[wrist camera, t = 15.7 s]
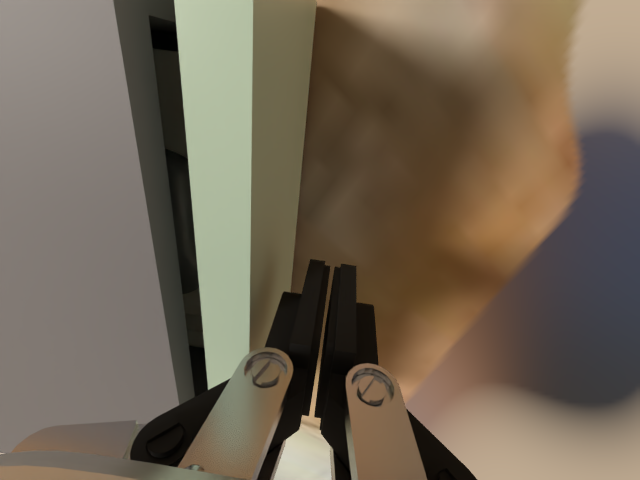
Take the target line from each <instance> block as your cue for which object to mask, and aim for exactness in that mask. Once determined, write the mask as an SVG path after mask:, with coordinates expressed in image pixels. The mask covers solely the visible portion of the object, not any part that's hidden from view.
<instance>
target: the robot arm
mask: <svg viewBox="0 0 640 480" xmlns="http://www.w3.org/2000/svg"><path fill="white" fill-rule="evenodd" d="M329 272H330V266H326V265H325V261H319V260H313V259H310V263H309V267H308V271H307V275H306V279H305V283H304V287H303V291H302V294H298V293H291V292H285V291H284V292H283V294H282V296H281V299H280V302H279V305H278V308H277V311H276V314H275V317H274V320H273V323H272V326H271V329H270V332H269V335H268V338H267V341H266V344H265V347H264V348H259V349H256V350H253V351H251V352H250V353H249V354H247V355H246V356H245V357H244V358H243V359H242V361H241V362H240V364H239V365H238V367H237V369H236V370H235V372H234V374H233V375H232V377H231V378H230V379H228V380H226V381H224V382H222V383H220V384H219V385H217V386H215V387H213V388H211V389H209V390H207V391H205V392H203V393H201V394H199V395H198V396H196V397H194V398H192V399H190V400H188V401H186V402H184V403H182V404H180V405H178V406H177V407H175V408H173V409H171V410H169V411H167V412H165V413H163V414H161V415H159V416H158V417H156V418H155V419H153V420H152V421H150V422H149V423H147V424H138V422H137V420H131V421H116V422H102V423H87V424H73V425H58V426H52V427H48V428H43V429H41V430H39V431H37V432H35V433H33V434H31V435H29V436H28V437H27V438H26V439H24V440H23V441H22V442H20V443H19V444H18V445H17V446H16V447H15V448H14V449H13V450H12V452H11V453H7V454H1V455H0V480H273V479H274V476H275V473H276V470H277V467H278V464H279V461H280V458H281V455H282V452H283V450H284V447H285V442H286V439H287V438H288V437H290V436H291V435H292V434H294V433H295V432H297V431H298V430H299V427H300V424H301V417H302V415H305V416H309V411H310V405H311V398H312V392H313V386H314V379H315V373H316V366H317V360H318V353H319V347H320V339H321V332H322V324H323V317H324V309H325V302H326V294H327V287H328V279H329ZM314 417H317V418H321V423H320V430H321V434H322V435H323V437H324V438H325V439H326V441H327V442H328V443H329V445H330V461H331V476H332V480H477V479H476V478H475V476H474V475H473V474H472V473H471V472H470V471H469V469H468V468H467V467H466V466H465V465H464V464H462V463H461V462H460V461H459V460H458V459H457V458H456V457H455V456H454V455H453V454H452V453H451V452H450V451H449V450H448V449H447V448H446V447H445V446H444V445H443V444H442V443H441V442H440V441H439V440H438V439H437V438H436V437H435V436H434V435H433V434H432V433H431V432H430V431H429V430H428V429H426V428H425V426H423V425H422V424H421V423H420V422H419V421H418V420H417V419H416V418H415V417H414V416H413V415H412V414H411V413H410V412H409V411H408V410H407V409H406V407H405V403H404V400H403V397H402V393H401V390H400V387H399V385H398V383H397V380H396V379H395V378H394V377H393V375H392V374H391V373H390V372H388V371H387V370H386V369H384V368H383V367H380V366H378V354H377V341H376V328H375V315H374V306H373V305H369V304H363V303H356V266H353V265H346V264H341V267H340V268H339V267H335V269H334V275H333V282H332V288H331V294H330V300H329V307H328V313H327V319H326V325H325V333H324V341H323V349H322V358H321V366H320V374H319V382H318V391H317V399H316V407H315V416H314Z"/></svg>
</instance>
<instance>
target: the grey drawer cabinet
mask: <svg viewBox="0 0 640 480" xmlns="http://www.w3.org/2000/svg"><path fill="white" fill-rule="evenodd" d="M153 48H154V49H161V50H169V51H176V52H179V50H178V39H177V27H176V16H175V5H174V0H0V453H6V454H7V453H11V452H12V450H13V449H14V448H15V447H16V446H17V445H18V444H19V443H20V442H22V441H23V440H24V439H26V438H27V437H28V436H29V435H31V434H33V433H35V432H37V431H39V430H41V429H43V428H48V427H52V426H58V425H73V424H87V423H102V422H116V421H131V420H137V422H138V424H147V423H149V422H150V421H152V420H153V419H155V418H156V417H158V416H159V415H161V414H163V413H165V412H167V411H169V410H171V409H173V408H175V407H177V406H178V405H180V404H182V403H184V402H186V401H188V400H190V399H192V398H194V397H196V396H198V395H199V394H201V393H203V392H205V391H207V390H208V382H207V371H206V359H205V348H201V347H195V346H189V344H188V336H187V328H186V319H185V311H184V303H183V295H182V286H181V278H180V270H179V262H178V254H177V245H176V237H175V229H174V221H173V212H172V204H171V196H170V188H169V179H168V171H167V163H166V155H165V147H164V138H163V130H162V122H161V114H160V105H159V97H158V89H157V81H156V72H155V64H154V56H153Z"/></svg>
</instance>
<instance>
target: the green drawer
mask: <svg viewBox="0 0 640 480" xmlns="http://www.w3.org/2000/svg"><path fill="white" fill-rule="evenodd" d="M174 5H175V16H176V27H177V39H178V50H179V52H176V51H169V50H161V49H154V48H153V56H154V64H155V72H156V81H157V89H158V97H159V105H160V114H161V122H162V130H163V138H164V147H165V149H168V150H171V151H173V152H176V153H178V154H180V155H182V156H184V157H186V158H187V159H188V165H189V176H190V188H191V199H192V211H193V222H194V233H195V245H196V256H197V268H198V279H199V288H198V289H196V290H195V291H192V292H189V293H186V294H182V295H183V303H184V311H185V319H186V328H187V336H188V344H189V346H195V347H201V348H205V359H206V371H207V382H208V390H209V389H211V388H213V387H215V386H217V385H219V384H220V383H222V382H224V381H226V380H228V379H230V378H231V377H232V375H233V374H234V372H235V370H236V369H237V367H238V365H239V364H240V362H241V361H242V359H243V358H244V357H245V356H246V355H247V354H249V353H250V352H251V351H253V350H256V349H259V348H264V347H265V344H266V341H267V338H268V335H269V332H270V329H271V326H272V323H273V320H274V317H275V314H276V311H277V308H278V305H279V302H280V299H281V296H282V294H283V292H284V291H285V292H291V282H292V271H293V260H294V248H295V237H296V226H297V215H298V204H299V193H300V182H301V171H302V160H303V149H304V138H305V127H306V116H307V105H308V94H309V83H310V71H311V60H312V49H313V38H314V27H315V16H316V5H317V2H316V0H174Z"/></svg>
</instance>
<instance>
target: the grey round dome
mask: <svg viewBox="0 0 640 480" xmlns="http://www.w3.org/2000/svg"><path fill="white" fill-rule="evenodd" d="M165 155H166V163H167V171H168V179H169V188H170V196H171V204H172V212H173V221H174V229H175V237H176V245H177V254H178V262H179V270H180V278H181V286H182V294H186V293H189V292H192V291H195V290H196V289H198V288H199V279H198V268H197V256H196V245H195V233H194V222H193V211H192V199H191V188H190V176H189V165H188V159H187V158H186V157H184V156H182V155H180V154H178V153H176V152H173V151H171V150H168V149H165Z"/></svg>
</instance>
